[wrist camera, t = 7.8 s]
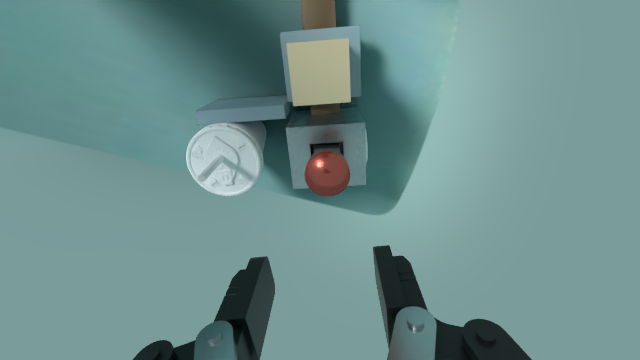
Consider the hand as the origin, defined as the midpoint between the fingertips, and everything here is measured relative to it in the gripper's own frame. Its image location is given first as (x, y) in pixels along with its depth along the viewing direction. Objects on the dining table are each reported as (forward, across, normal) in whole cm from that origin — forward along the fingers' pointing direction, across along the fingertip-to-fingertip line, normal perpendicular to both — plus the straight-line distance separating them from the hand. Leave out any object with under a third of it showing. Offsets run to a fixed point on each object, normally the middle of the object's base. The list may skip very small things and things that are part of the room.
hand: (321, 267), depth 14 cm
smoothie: (+22, +8, -2) cm, 24 cm away
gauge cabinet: (+22, 0, 0) cm, 22 cm away
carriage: (+21, +4, -8) cm, 23 cm away
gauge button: (+18, 0, 0) cm, 18 cm away
